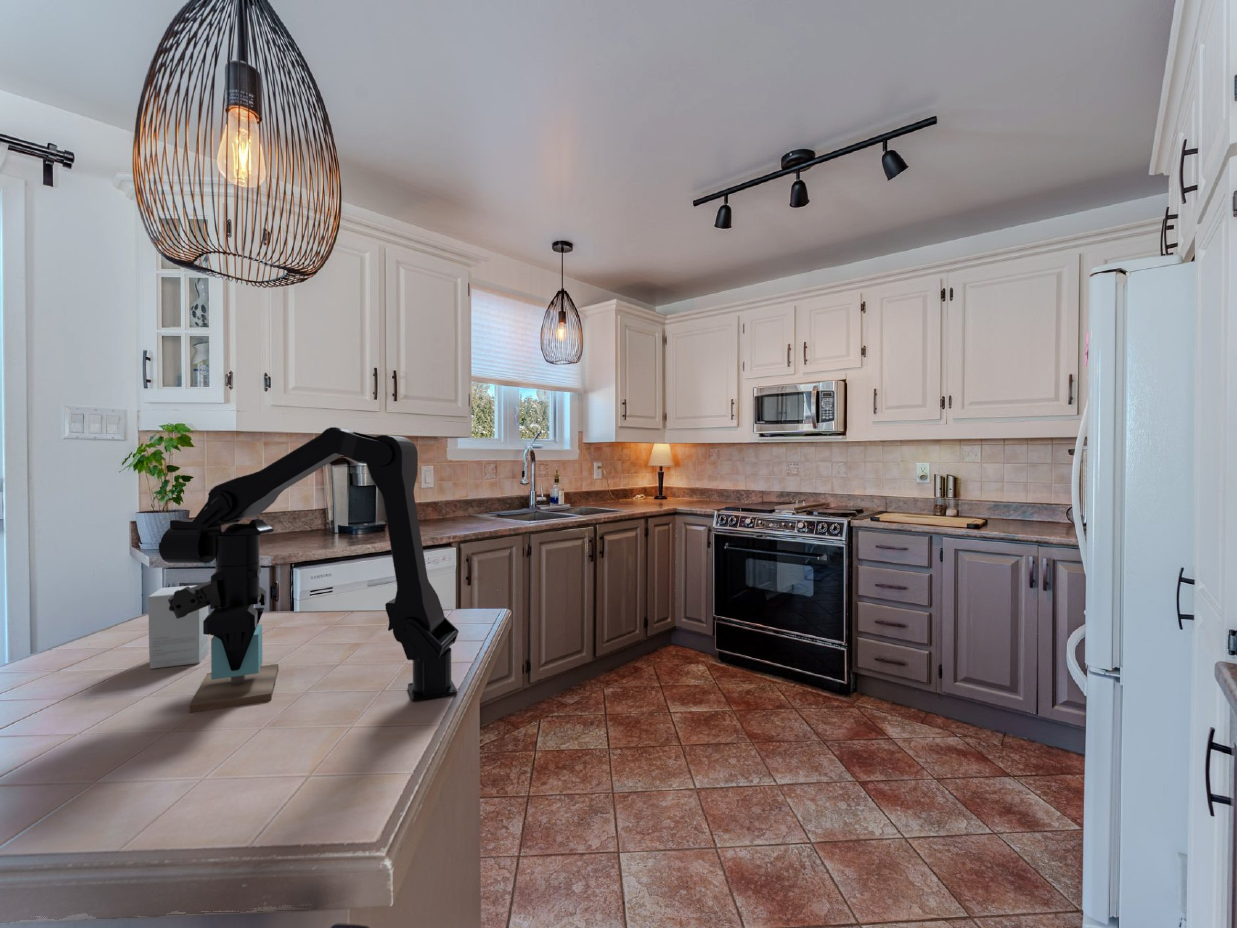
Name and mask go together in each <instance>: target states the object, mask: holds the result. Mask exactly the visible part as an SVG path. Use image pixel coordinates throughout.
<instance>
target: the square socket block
mask: <svg viewBox="0 0 1237 928" xmlns="http://www.w3.org/2000/svg"><path fill="white" fill-rule="evenodd" d="M210 641H211V642H210V643H211V644H210V646H211V647H210V649H211V651H210V652H211V653H210V654H211V656H210V658H211V659H210V661H211V662H210V663H211V665H210V666H211V667H210V668H211V669H210V670H211V671H210V673H211V680H214V679H221V678H228V677H235V676H243V675H250V674H257V673H259V670H260V667H261V666H262V664H263V624H258V625H257V627H256V630H255V632H254V635H253V637H252V640H251V642H250V645H249V647H248V650H247V652H246V655H245V657H244V660H243V662H242V665H241V667H240V669H239V670H235V671H231V669H230V666H229V663H228V659H227V656H226V653H225V650H224V647H223V644H222V641H221V640H220V639H219V638H217V637H215V636H214V635H212V637H211V639H210Z"/></svg>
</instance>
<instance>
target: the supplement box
mask: <svg viewBox="0 0 1237 928" xmlns="http://www.w3.org/2000/svg"><path fill="white" fill-rule="evenodd" d="M187 586H188V587H190V588H192V587H194V586H197V585H185V586H183V585H181V586H171V587H170V586H169V587H168V586H167V587H161V588H159V589H158V590H156V591H155V592H153V593H151V594H150V595H148V596H147V601H148V602H147V603H148V604H147V605H148V607H147V608H148V653H149V654H148V655H149V656H148V657H149V670H154V669H159V668H160V669H162V668H168V667H177V666H179V667H180V666H185V665H195V664H200V663H201V661H202V660H203V659H204V658H205V657H206V656H207V654H208V653H209V651H210V640H209V639H210V637H209V635H206V634H203V621H204V620H205V618H206V617H207V616H208V615H209V605H208V606H206V607H204V608H201V609H199V610H196V611H193V612H191V613H188V614H187V615H186V616H184V617H182V618H179V619H177V618H176V616H175V614H174V612H173V611H170V610H169V607H170V604H169V602H168V599H169V598H170V597H171V596H173V595H174V592H176V591H177V590H182V589H184V588H185V587H187Z"/></svg>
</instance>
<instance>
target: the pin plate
mask: <svg viewBox="0 0 1237 928" xmlns="http://www.w3.org/2000/svg"><path fill="white" fill-rule="evenodd" d="M278 672H279V663H274V664H265V665H261V667H260V670H259V673H257V674H250V675H243V676H235V677H228V678H221V679H214V680H211V672H207V673H206V675H205V677H204V678H203V681H202V682H201V684H200V686H199V687H198V689H197V691H196V693H195V695H194V696H193V697H192V700H191V702H190V703H189V705H188V711H189V712H188V713H196V712H203V711H209V710H214V709H221V708H228V707H234V706H241V705H247V704H254V703H260V702H267V701H271V700H272V698H273V694H274V690H275V686H276V682H277V681H276V680H277V678H278Z"/></svg>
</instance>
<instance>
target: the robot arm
mask: <svg viewBox="0 0 1237 928" xmlns="http://www.w3.org/2000/svg"><path fill="white" fill-rule="evenodd" d="M342 456H343V457H345V458H349V459H351V460H354V461H357V462H362V463H365V464H366V467H367V470H368V473H369V476H370V479H371V481H372V482H373V484H374V485H375V487H376V488H377V490H378V491H379V494H380V495H381V497H382V502H383V508H384V514H385V520H386V526H387V532H388V538H389V539H388V540H389V544H390V545H389V546H390V551H391V556H392V563H393V570H394V576H395V581H396V582H395V583H396V591H395V592H396V593H395V597H394V598H392V599H391V600H389V601H387V602H386V603H385V604H384V606H385V611H386V613H387V617H388V628H387V630H388V632H391V630H392V634H393V637H394V638H395V641H396V642H398V643H400V644H401V645H402V648H403V652H404V654H405V656H406V660H407V661H412V682H410V683H408V684H407V689H408V691H409V695H410V698H411V700H412V701H413V702H418V701H423V700H430V699H435V698H440V697H446V696H452V695H457V694H458V689H457V688H456V685H455V684H454V681H452V647H451V646H452V645H453V644H455V642H456V641H457V638H458V635H459V633H460V631H459V629H458V628H457V627H456V626H455V625H453V623H451V622H450V620H449V619H447V618H446V617H445V613H444V610H443V607H442V604H441V602H440V598H439V596H438V594H437V592H436V590H435V588H434V587H433V586H432V583H431V582H430V580H429V578H428V573H427V567H426V561H425V555H424V554H425V553H424V548H423V547H424V546H423V541H422V536H421V529H420V524H419V517H418V510H417V505H416V498H415V486H416V483H417V481H416V480H417V477H418V471H419V469H418V461H419V457H418V456H419V454H418V449H417V446H416V444H415V443H414V442H412V441H411V440H410V439H408V438H407V437H404V436H397V435H388V434H385V435H383V434H382V435H378V436H374V435H369V434H365V433H360V432H357V431H354V430H351V429H350V428H346V427H335V426H333V427H331V426H330V427H328V428H326V429H325V430H324V431H322V432H321V433H320V434H319V435H317V436H315V437H314V438H312V439H311V440H309V441H307V442H306V443H304V444H303V445H300V446H299V447H297V448H296V449H294V450H293V451H291V452H289V453H288V454H286V455H284V456H282V457H281V458H279V459H277V460H275V461H274V462H273V463H271V464H269V465H267V466H266V467H264V468H262V469H261V470H259V471H256V472H253V473H249V474H246V475H242V476H239V477H235V478H233V479H230V480H228V481H225V482H222V483H219V484H217V485H215V486H213V487H212V488H211V489H210V490H209V492H208V495H207V496H208V497H207V501H206V502H205V504H204V505H203V507H202V508H201V509H200V511H199V512H198V513H197V515H196V516H195V517H194V519H188V518H178V519H171V520H170V521H169V528H168V529H167V530H165V531H164V533H163V534H162V537H161V540H160V542H159V543H158V553H159V556H160V557H161V560H163V561H164V562H166V563H168V564H209V563H212V562H214V560H215V572H214V573H212V574H211V576H210V580H208V581H206V582H204V583H200V584H198V585H197V586H195V585H193V586H194V587H192V588H190V587H188V586H189V585H186V586H187V587H185V588H184V589H182V590H177V591H176V592H174V595H173V596H171V597H170V598H169V599H168V602H169V604H170V607H169V610H170V611H173V612H174V614H175V616H176V618H177V619H179V618H182V617H184V616H186V615H187V614H188V613H191V612H193V611H196V610H199V609H201V608H204V607H206V606H208V607H210V608H209V609H210V610H212V611H211V612H210V613H208V616H207V617H206V618H205V620H204V621H203V634H206V635H210V636H215V637H217V638H219V639H220V640H221V641H222V644H223V647H224V650H225V653H226V656H227V659H228V663H229V666H230V669H231V671H235V670H239V669H240V667H241V665H242V662H243V660H244V657H245V655H246V652H247V650H248V647H249V645H250V642H251V640H252V637H253V635H254V632H255V630H256V627H257V625H259V624H260V621H261V618H262V615H263V613H264V610H265V607H256V608H255V605H258V604H260V606H265V605H266V604H267V590H266V589H264V588H263V587H261V586H260V574H261V573H262V571H261V570H262V567H261V565H260V536H261V535H266V534H271V533H272V534H273V532H274V528H273V527H272V526H271V525H269V524H267V523H266V522H265V521H264V519H263V518H256V517H258V516H259V515H261V514H262V513H263V512H264V511H266V510H267V509H268V508H269V507H270V506H271V505H273V504H274V503H275V502H276V500H277V499H278V497H279V496H280V494H281V493H283V492H284V491H285V490H286V489H289V488H291V486H293V485H295V484H296V483H299V481H302V480H304V479H305V478H307V477H308V476H310V475H312V474H313V473H315V472H317V471H319V470H320V469H322V468H323V467H325V466H327V465H329V464H330V463H332V462H333V461H335V460H337V459H338V458H340V457H342ZM250 518H255V519H251V521H249V523H240V522H241V521H243V520H244V519H250ZM227 525H228V526H227ZM222 526H227V527H226V528H225V529H222Z"/></svg>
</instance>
